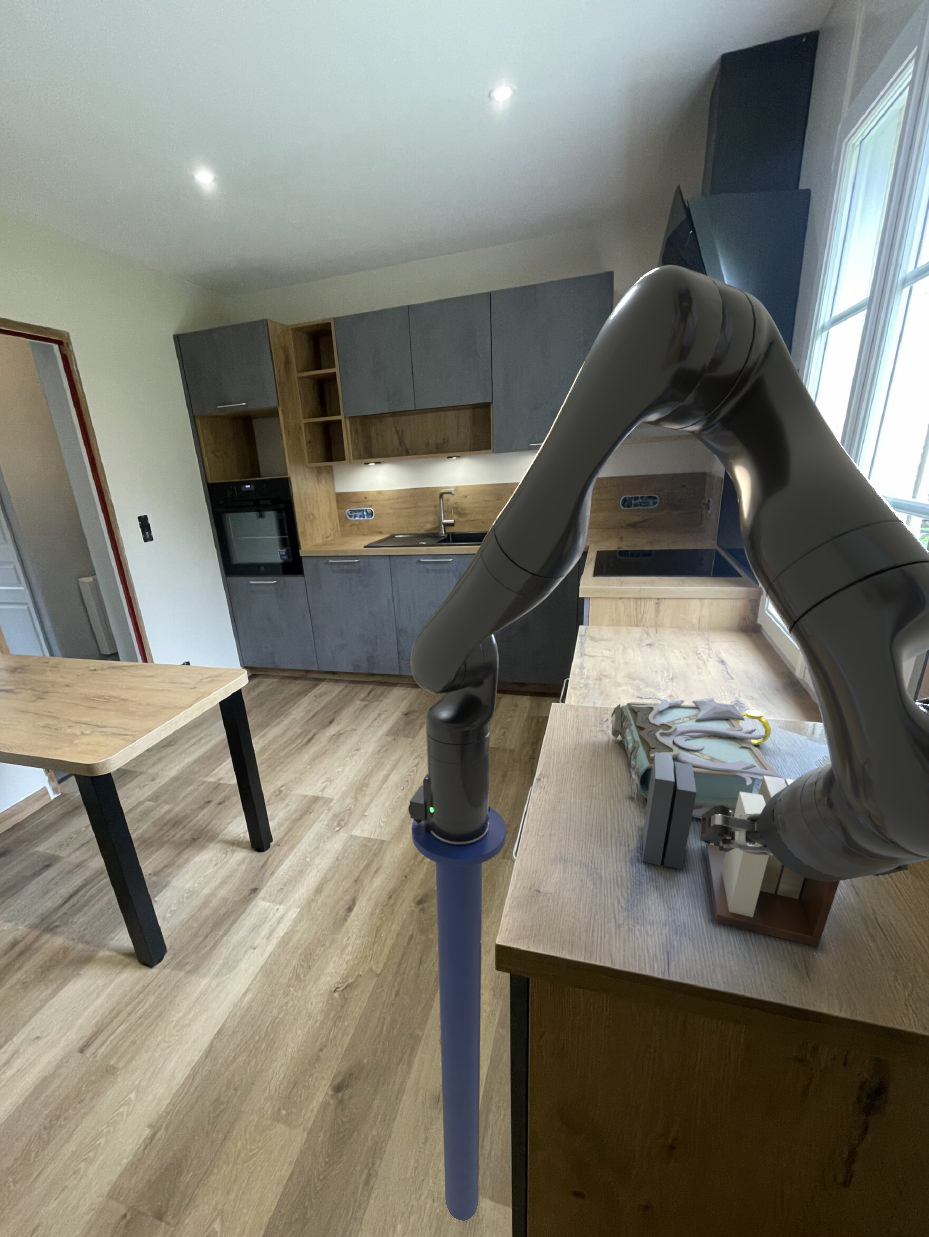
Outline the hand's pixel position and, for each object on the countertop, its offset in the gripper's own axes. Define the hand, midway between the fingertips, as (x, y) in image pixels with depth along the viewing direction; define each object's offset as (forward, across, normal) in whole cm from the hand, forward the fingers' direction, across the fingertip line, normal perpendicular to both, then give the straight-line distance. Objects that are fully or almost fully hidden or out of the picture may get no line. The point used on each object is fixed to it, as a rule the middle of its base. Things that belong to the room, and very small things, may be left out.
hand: (770, 850), depth 53 cm
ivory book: (+14, 0, +4) cm, 14 cm away
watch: (+46, -8, -27) cm, 54 cm away
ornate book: (+35, +4, -16) cm, 39 cm away
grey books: (+20, +8, -1) cm, 21 cm away
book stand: (+16, -2, +3) cm, 17 cm away
